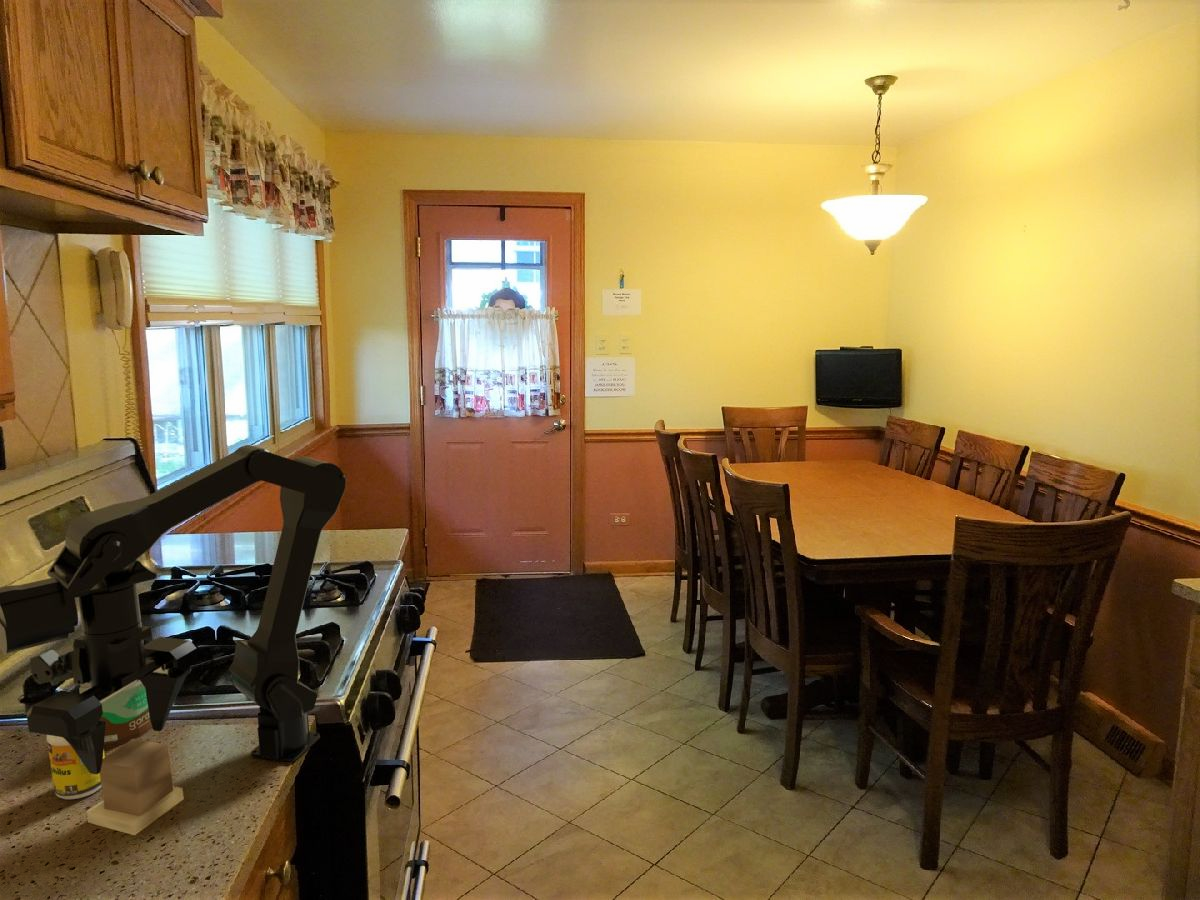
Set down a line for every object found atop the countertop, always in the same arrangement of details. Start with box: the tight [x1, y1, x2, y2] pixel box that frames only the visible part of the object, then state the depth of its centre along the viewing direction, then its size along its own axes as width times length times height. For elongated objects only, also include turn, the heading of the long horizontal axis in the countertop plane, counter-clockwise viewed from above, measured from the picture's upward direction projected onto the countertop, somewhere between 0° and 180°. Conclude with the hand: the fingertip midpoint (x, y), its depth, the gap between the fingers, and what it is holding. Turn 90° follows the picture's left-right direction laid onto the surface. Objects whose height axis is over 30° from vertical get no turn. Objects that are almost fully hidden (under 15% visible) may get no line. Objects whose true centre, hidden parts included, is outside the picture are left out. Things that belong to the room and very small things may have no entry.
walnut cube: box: [100, 738, 174, 816], centre depth 96 cm, size 5×5×6 cm
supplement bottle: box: [46, 735, 106, 800], centre depth 100 cm, size 6×6×10 cm
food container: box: [78, 680, 153, 748], centre depth 114 cm, size 12×6×10 cm, turn 179°
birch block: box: [86, 785, 185, 836], centre depth 97 cm, size 7×7×2 cm
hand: (127, 750), depth 95 cm, fingers open, 9 cm apart
